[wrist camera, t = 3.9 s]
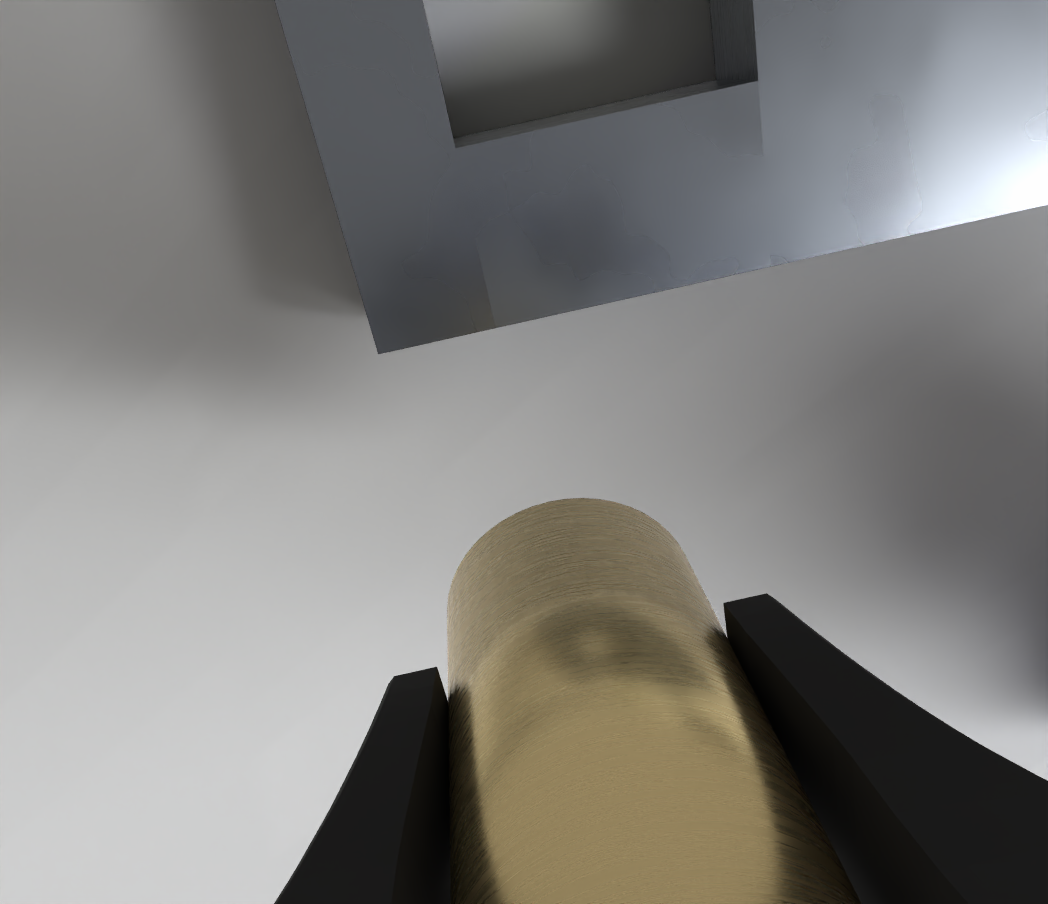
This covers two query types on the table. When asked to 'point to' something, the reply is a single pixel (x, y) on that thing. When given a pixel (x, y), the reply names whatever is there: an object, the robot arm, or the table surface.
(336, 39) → the plate
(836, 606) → the table surface
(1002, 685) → the table surface
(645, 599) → the brass bushing
